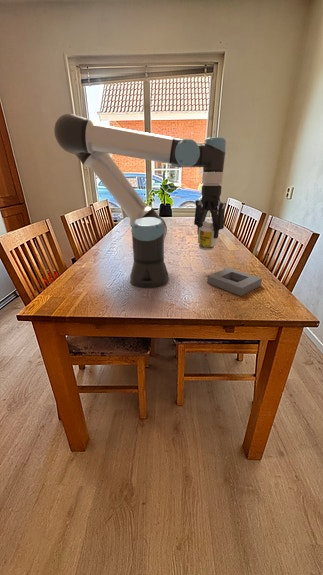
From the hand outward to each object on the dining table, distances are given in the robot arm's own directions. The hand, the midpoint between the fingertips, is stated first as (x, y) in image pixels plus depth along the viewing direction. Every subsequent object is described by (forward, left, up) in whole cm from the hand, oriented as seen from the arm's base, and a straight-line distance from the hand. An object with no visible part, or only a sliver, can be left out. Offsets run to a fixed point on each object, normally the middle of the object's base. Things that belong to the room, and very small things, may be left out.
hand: (206, 244), depth 104 cm
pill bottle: (0, 0, -2) cm, 2 cm away
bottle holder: (-4, -18, -11) cm, 21 cm away
